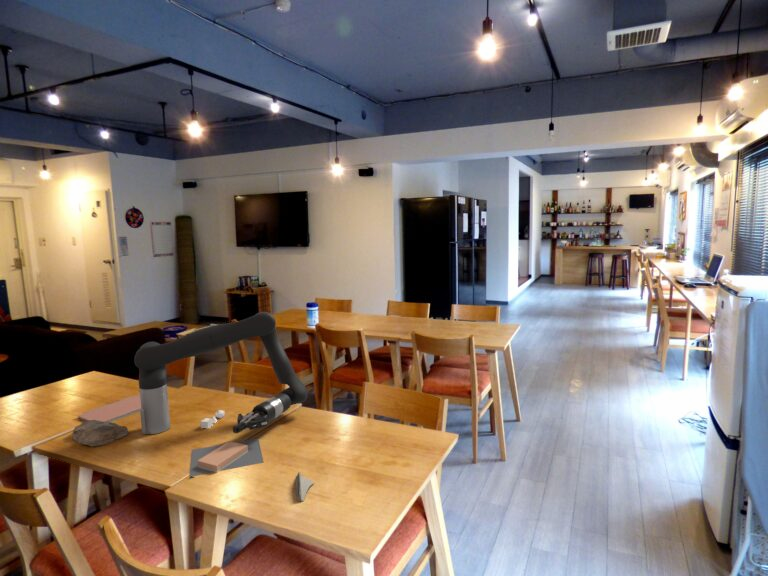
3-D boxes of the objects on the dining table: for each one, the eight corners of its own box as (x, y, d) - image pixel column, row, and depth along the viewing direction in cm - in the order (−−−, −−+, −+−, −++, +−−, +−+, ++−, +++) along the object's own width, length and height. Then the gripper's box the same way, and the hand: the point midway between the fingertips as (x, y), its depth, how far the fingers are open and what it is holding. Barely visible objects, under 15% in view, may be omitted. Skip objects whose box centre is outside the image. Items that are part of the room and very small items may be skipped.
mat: (189, 478, 138) (189, 476, 138) (191, 451, 155) (191, 449, 155) (263, 464, 146) (263, 462, 146) (258, 439, 163) (258, 438, 163)
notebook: (141, 396, 207) (141, 392, 207) (163, 403, 199) (163, 399, 198) (76, 419, 184) (75, 414, 184) (98, 428, 176) (97, 423, 175)
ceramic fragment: (296, 476, 139) (296, 464, 139) (313, 474, 140) (313, 463, 140) (296, 504, 126) (295, 491, 125) (315, 502, 127) (314, 489, 126)
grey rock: (63, 437, 168) (90, 450, 157) (62, 425, 167) (88, 437, 156) (103, 424, 179) (131, 435, 169) (102, 412, 179) (130, 423, 168)
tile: (248, 451, 153) (217, 472, 140) (229, 447, 156) (197, 467, 144) (247, 445, 153) (216, 465, 140) (229, 441, 156) (197, 460, 143)
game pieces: (208, 430, 172) (207, 422, 172) (200, 429, 173) (200, 421, 172) (226, 416, 184) (226, 409, 183) (219, 415, 184) (218, 408, 184)
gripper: (253, 398, 170) (219, 416, 155) (282, 403, 165) (249, 423, 149) (254, 417, 171) (220, 437, 156) (283, 423, 166) (251, 444, 150)
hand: (234, 430), depth 152 cm, fingers closed
